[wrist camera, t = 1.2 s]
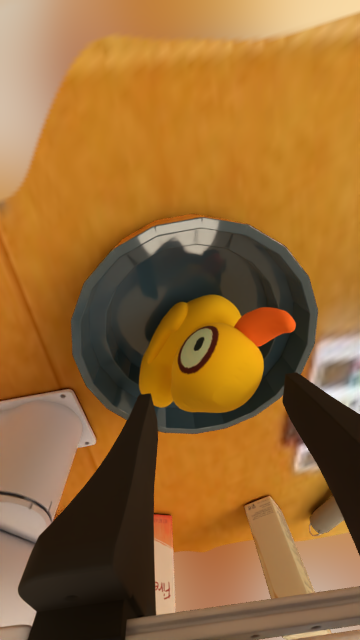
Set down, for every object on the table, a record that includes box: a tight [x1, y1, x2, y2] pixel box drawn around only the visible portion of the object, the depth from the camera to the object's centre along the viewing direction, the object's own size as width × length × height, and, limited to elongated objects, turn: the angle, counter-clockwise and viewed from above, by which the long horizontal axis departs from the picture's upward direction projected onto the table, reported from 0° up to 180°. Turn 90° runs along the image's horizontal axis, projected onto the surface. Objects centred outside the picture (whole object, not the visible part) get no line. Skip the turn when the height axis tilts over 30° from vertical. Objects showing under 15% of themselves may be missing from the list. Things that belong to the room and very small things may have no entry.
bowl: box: [71, 214, 318, 434], centre depth 19 cm, size 17×17×5 cm
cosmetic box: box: [244, 496, 332, 640], centre depth 31 cm, size 6×4×12 cm
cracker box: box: [154, 514, 176, 615], centre depth 25 cm, size 14×6×21 cm, turn 73°
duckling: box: [139, 295, 296, 413], centre depth 17 cm, size 11×5×10 cm, turn 135°
